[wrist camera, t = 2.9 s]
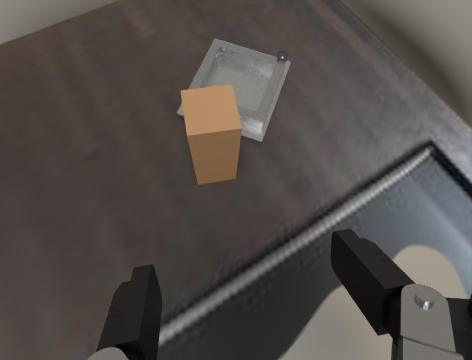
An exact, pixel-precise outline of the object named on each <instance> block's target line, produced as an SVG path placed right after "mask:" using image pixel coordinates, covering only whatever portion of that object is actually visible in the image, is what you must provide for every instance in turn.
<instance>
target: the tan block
mask: <svg viewBox="0 0 472 360" xmlns="http://www.w3.org/2000/svg"><path fill="white" fill-rule="evenodd" d="M181 97H182V104H183V111H184V118H185V125H186V132H187V138H188V142H189V147H190V151H191V156H192V160H193V164H194V169H195V173H196V178H197V182H198V185H200V184H206V183H212V182H219V181H225V180H232V179H236V174H237V165H238V157H239V148H240V140H241V132H242V126H241V122H240V117H239V113H238V108H237V104H236V99H235V95H234V90H233V86H232V84H231V85H223V86H214V87H206V88H197V89H189V90H181Z"/></svg>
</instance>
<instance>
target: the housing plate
mask: <svg viewBox="0 0 472 360" xmlns="http://www.w3.org/2000/svg"><path fill="white" fill-rule="evenodd" d="M287 58H288V54H287V52H285V51H280V52H279V53H278V55H277V57H274V56H271V55H267V54H264V53H261V52H258V51H254V50H251V49H248V48H244V47H241V46H238V45H235V44H231V43H228V42H225V41H222V40H218V39H214V41H213V43H212V45H211V47H210V49H209V51H208V52H207V54H206V56H205V58H204V60H203V62H202V64H201V66H200V68H199V70H198V72H197V74H196V75H195V77H194V79H193V81H192V83H191V85H190V87H189V89H197V88H206V87H214V86H223V85H231V84H232V86H233V90H234V95H235V99H236V104H237V108H238V113H239V117H240V122H241V126H242V132H241V139H243V140H246V141H249V142H252V143H255V144H258V145H261V144H262V141H263V138H264V136H265V133H266V130H267V127H268V125H269V122H270V119H271V116H272V114H273V111H274V108H275V106H276V103H277V100H278V97H279V95H280V92H281V89H282V86H283V84H284V81H285V78H286V75H287V73H288V70H289V67H290V64H291V62H290V61H287ZM189 89H188V90H189ZM177 117H178V118H180V119H183V120H185V118H184V111H183V104H181V106H180V108H179V110H178V112H177Z"/></svg>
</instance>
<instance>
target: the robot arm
mask: <svg viewBox="0 0 472 360" xmlns="http://www.w3.org/2000/svg"><path fill="white" fill-rule="evenodd" d="M331 265H332V268H333V270H334V272H335V274H336V275H337V277H338V278H339V280H340V281H341V283H342V284H343V285H344V287H345V288H346V289H347V291H348V293H349V294H350V296H351V297H352V299H353V300H354V301H355V303H356V304H357V306H358V307H359V309H360V310H361V312H362V313H363V315H364V316H365V317H366V319H367V320H368V322H369V323H370V325H371V326H372V328H373V329H374V330H375V332H376V333H377V335H383V334H388V333H389V334H390V336H391V337H392V338H393V341H392V352H391V360H472V294H471V297H470V299H459V298H446V297H444V296H443V295H442V294H440V293H439V292H438V291H436V290H434V289H433V288H431V287H428V286H425V285H421V284H415V283H414V282H413V281H412V280H411V279H410V278H409V277H408V276H407V275H406V274H405V273H404V272H403V271H402V270H401V269H400V268H399V267H398V266H397V265H396V264H395V263H394V262H393V261H392V260H390V258H389V257H388V256H387V255H386V254H385V253H383V251H382V250H381V249H380V248H379V247H378V246H377V245H376V244H375V243H373V242H371V241H369V240H367V239H365V238H361V239H360V238H359V237H358V236H357V235H356V234H355V233H354V232H353V231H352V230H351V229H346V230H341V231H335V232H333V233H332V241H331ZM161 312H162V295H161V290H160V287H159V283H158V279H157V276H156V272H155V268H154V266H153V265H146V266H141V267H135V268H134V270H133V273H132V277H131V281H128V282H123V283H122V284H121V285H120V286H119V288H118V289H117V290H116V291H115V293H114V296H113V299H112V302H111V306H110V309H109V312H108V316H107V318H106V322H105V325H104V328H103V331H102V335H101V338H100V341H99V345H98V348H97V351H96V353H95V354H93V355H92V356H91V357H89V358H88V359H87V360H157V353H158V343H159V333H160V322H161Z"/></svg>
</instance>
